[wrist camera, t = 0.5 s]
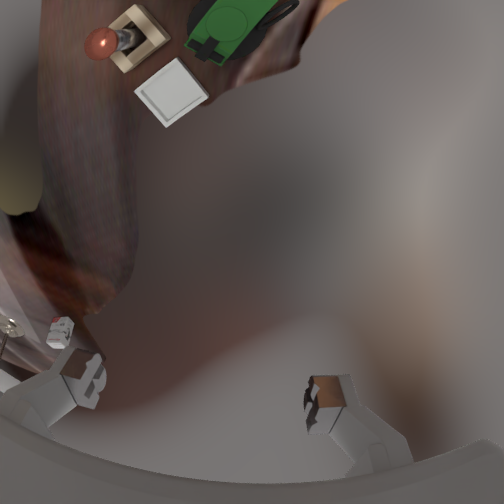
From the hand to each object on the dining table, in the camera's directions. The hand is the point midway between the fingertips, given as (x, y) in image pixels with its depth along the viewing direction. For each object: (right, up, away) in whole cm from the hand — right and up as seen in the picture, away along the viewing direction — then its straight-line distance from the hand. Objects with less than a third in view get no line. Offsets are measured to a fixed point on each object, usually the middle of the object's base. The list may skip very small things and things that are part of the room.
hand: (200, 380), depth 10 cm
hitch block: (-18, +42, +27) cm, 53 cm away
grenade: (-1, +44, +27) cm, 52 cm away
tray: (-12, +34, +36) cm, 51 cm away
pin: (-18, +42, +27) cm, 53 cm away
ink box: (-71, -22, +84) cm, 112 cm away
